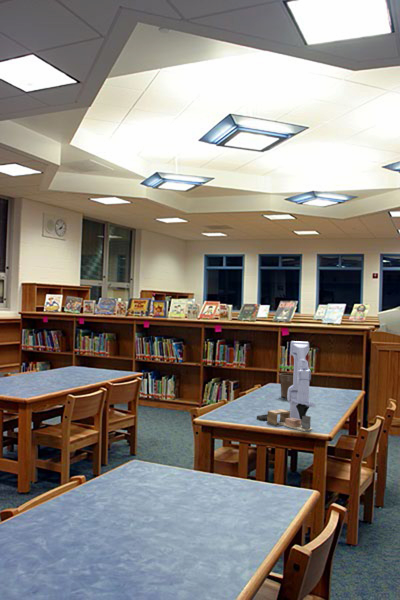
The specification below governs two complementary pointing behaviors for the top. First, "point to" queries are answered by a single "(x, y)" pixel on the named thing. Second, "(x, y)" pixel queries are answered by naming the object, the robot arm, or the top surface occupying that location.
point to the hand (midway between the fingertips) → (302, 419)
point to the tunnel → (273, 415)
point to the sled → (298, 423)
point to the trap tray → (262, 417)
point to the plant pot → (286, 383)
